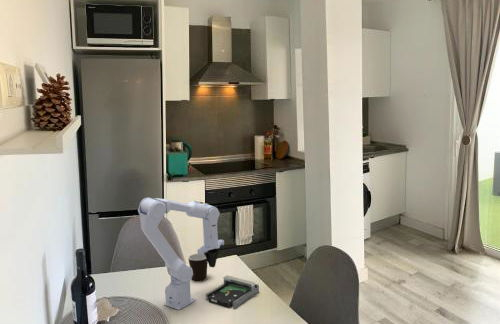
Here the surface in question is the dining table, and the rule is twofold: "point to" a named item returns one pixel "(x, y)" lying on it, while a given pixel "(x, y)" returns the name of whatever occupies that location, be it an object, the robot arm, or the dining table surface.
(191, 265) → the coffee mug
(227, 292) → the disk drive
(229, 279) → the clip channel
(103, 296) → the dining table surface
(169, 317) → the dining table surface
